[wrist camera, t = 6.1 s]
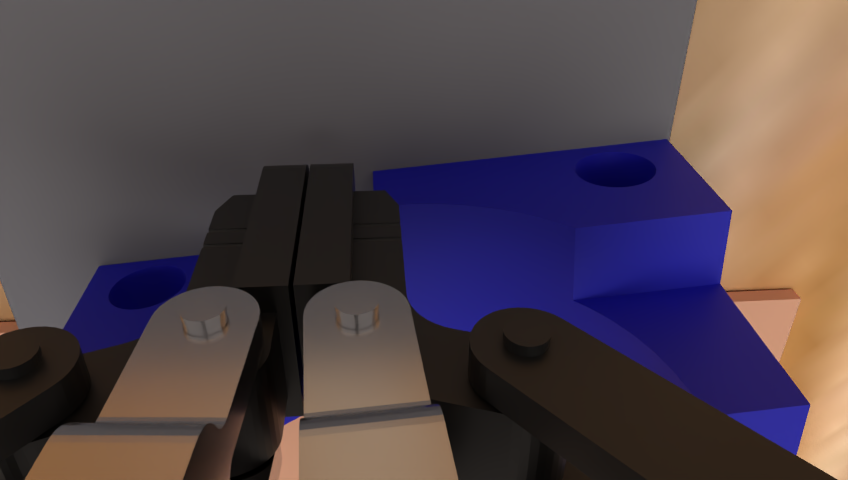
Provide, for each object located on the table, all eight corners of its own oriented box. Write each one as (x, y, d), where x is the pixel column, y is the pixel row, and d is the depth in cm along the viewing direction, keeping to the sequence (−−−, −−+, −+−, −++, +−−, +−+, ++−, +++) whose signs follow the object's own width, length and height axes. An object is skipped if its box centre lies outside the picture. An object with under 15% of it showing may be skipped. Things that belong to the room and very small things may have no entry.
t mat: (-539, -372, 10) (-571, -378, 9) (1005, -347, 11) (1025, -351, 11) (-37, 551, 20) (-44, 564, 20) (720, 505, 21) (725, 516, 21)
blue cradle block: (666, 139, 14) (833, 321, 9) (648, 314, 17) (773, 536, 12) (74, 204, 14) (-87, 427, 9) (140, 372, 17) (42, 624, 11)
